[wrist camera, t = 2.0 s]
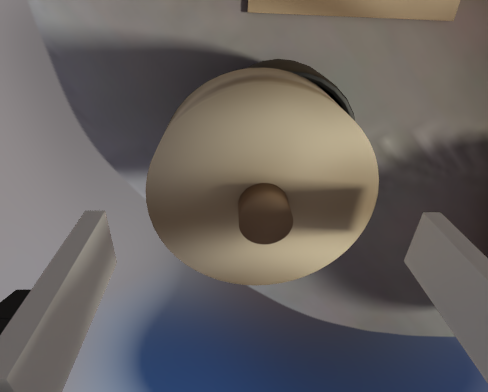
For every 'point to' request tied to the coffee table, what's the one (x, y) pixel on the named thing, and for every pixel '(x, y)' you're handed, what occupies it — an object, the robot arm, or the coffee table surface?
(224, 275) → the lid
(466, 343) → the robot arm
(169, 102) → the coffee table surface
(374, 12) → the mat
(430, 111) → the coffee table surface
